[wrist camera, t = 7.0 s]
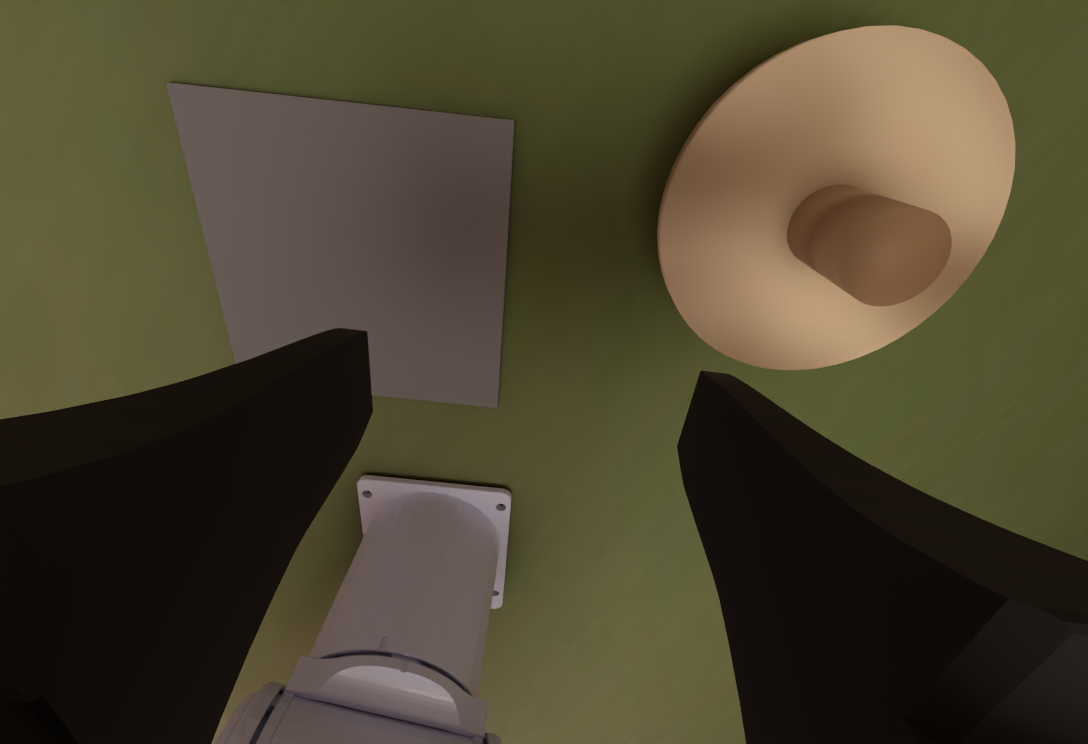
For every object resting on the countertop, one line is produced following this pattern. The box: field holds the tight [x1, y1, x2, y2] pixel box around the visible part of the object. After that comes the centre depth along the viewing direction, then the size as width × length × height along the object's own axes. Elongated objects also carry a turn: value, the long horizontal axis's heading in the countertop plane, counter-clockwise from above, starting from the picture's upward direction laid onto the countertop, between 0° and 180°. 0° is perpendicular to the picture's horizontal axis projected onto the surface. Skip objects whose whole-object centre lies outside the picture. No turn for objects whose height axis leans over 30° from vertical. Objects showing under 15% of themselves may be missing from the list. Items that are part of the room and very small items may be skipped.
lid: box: [657, 26, 1015, 370], centre depth 14 cm, size 10×10×4 cm
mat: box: [166, 82, 515, 408], centre depth 20 cm, size 12×12×1 cm
